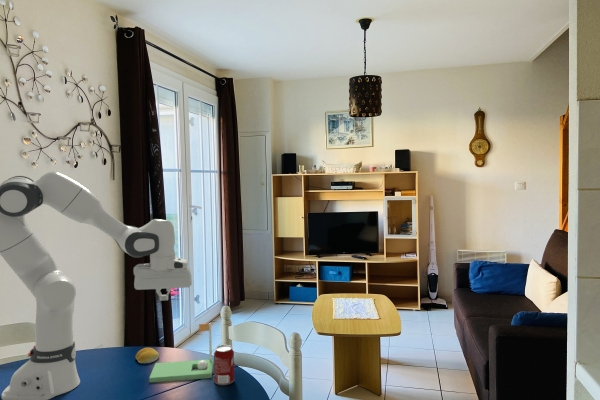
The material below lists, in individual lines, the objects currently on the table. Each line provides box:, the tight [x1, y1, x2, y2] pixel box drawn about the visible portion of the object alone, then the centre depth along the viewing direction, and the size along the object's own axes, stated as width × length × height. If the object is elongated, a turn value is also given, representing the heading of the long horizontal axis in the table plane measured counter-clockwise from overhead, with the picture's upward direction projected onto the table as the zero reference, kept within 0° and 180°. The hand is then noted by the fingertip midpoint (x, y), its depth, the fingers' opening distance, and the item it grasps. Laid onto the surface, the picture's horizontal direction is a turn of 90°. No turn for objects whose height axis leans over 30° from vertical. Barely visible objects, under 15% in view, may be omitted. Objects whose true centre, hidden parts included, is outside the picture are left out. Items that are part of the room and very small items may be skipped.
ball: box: [198, 359, 208, 370], centre depth 157 cm, size 4×4×4 cm
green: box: [148, 322, 214, 383], centre depth 155 cm, size 21×12×16 cm, turn 99°
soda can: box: [213, 344, 235, 387], centre depth 148 cm, size 7×7×12 cm
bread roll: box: [135, 347, 160, 364], centre depth 168 cm, size 8×9×4 cm
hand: (163, 300), depth 159 cm, fingers closed
